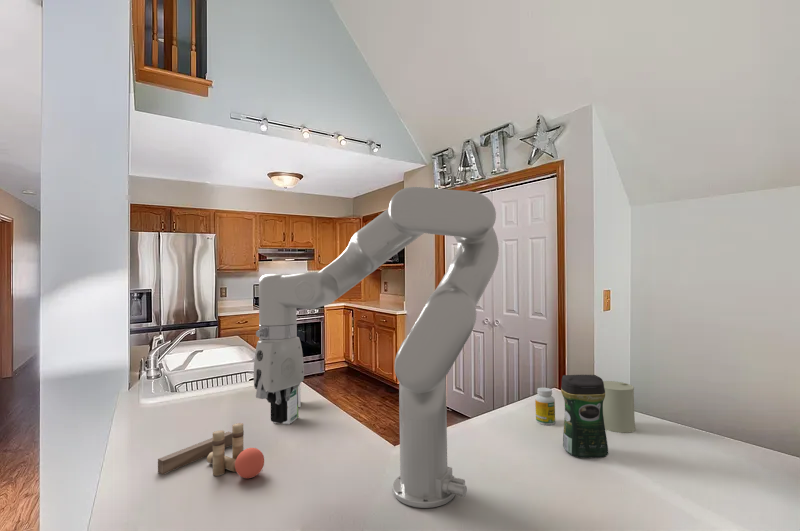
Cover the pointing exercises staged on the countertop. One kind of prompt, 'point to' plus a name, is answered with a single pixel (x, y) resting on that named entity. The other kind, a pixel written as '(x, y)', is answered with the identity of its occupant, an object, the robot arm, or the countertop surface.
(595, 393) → the coffee jar
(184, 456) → the back wall
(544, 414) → the supplement bottle
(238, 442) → the right back pin
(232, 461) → the front pin
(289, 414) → the syrup box
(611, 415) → the can
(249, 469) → the ball
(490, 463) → the countertop surface
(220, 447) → the left back pin
